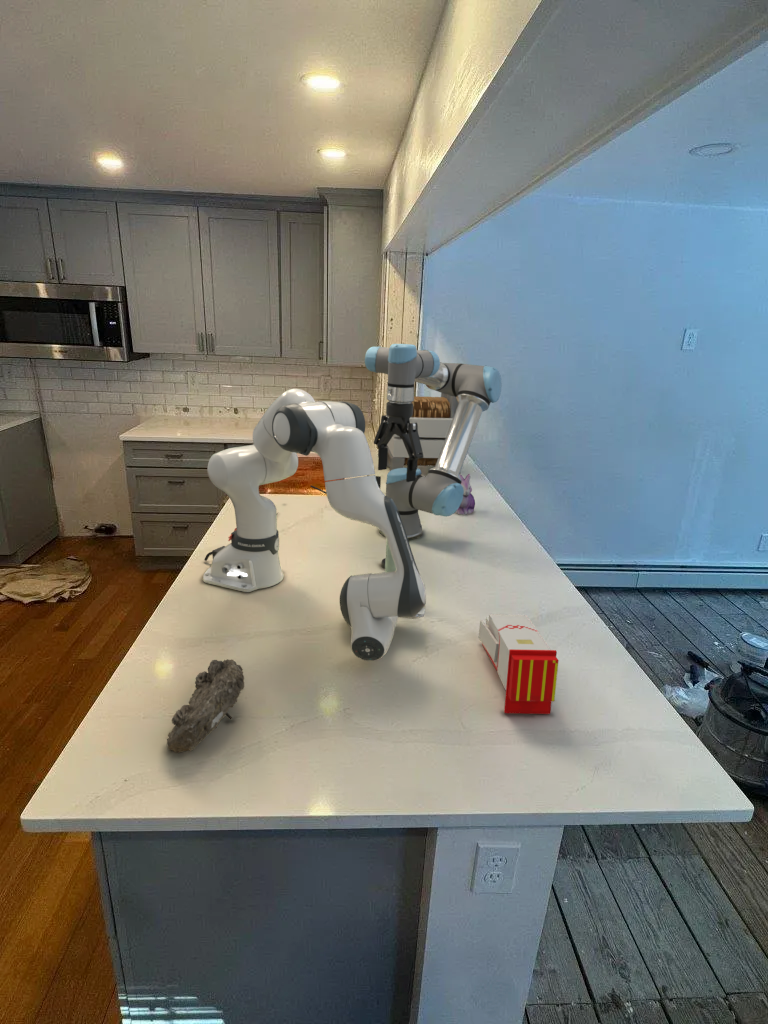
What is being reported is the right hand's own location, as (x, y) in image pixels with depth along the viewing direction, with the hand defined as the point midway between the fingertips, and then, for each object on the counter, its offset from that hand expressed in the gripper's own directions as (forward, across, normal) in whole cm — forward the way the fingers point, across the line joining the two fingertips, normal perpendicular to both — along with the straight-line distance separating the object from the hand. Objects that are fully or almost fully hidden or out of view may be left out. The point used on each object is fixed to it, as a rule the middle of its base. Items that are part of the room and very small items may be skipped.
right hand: (396, 475), depth 165 cm
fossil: (+29, +36, -70) cm, 84 cm away
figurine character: (+29, -58, +34) cm, 73 cm away
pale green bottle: (+29, +15, -10) cm, 34 cm away
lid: (+28, 0, 0) cm, 28 cm away
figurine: (+29, -25, +55) cm, 67 cm away
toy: (+29, +58, -11) cm, 66 cm away
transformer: (+29, -77, +75) cm, 111 cm away
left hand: (+22, +21, -17) cm, 35 cm away
